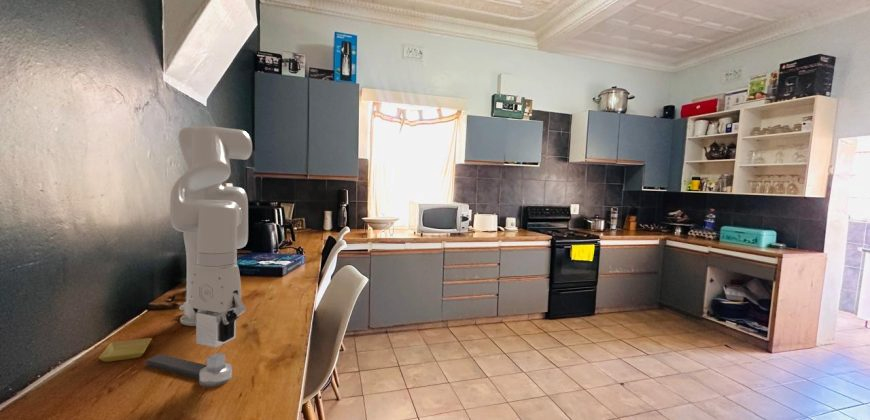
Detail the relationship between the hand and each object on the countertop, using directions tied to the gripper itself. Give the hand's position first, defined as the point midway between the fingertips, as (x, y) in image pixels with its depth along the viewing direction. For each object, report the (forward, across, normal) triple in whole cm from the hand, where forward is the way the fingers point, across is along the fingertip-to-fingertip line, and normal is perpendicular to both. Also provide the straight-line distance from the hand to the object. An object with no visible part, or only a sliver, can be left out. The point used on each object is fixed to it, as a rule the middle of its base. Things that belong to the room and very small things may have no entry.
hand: (216, 336), depth 81 cm
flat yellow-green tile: (+11, -29, +1) cm, 31 cm away
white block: (+1, 0, 0) cm, 1 cm away
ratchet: (+10, -8, 0) cm, 13 cm away
